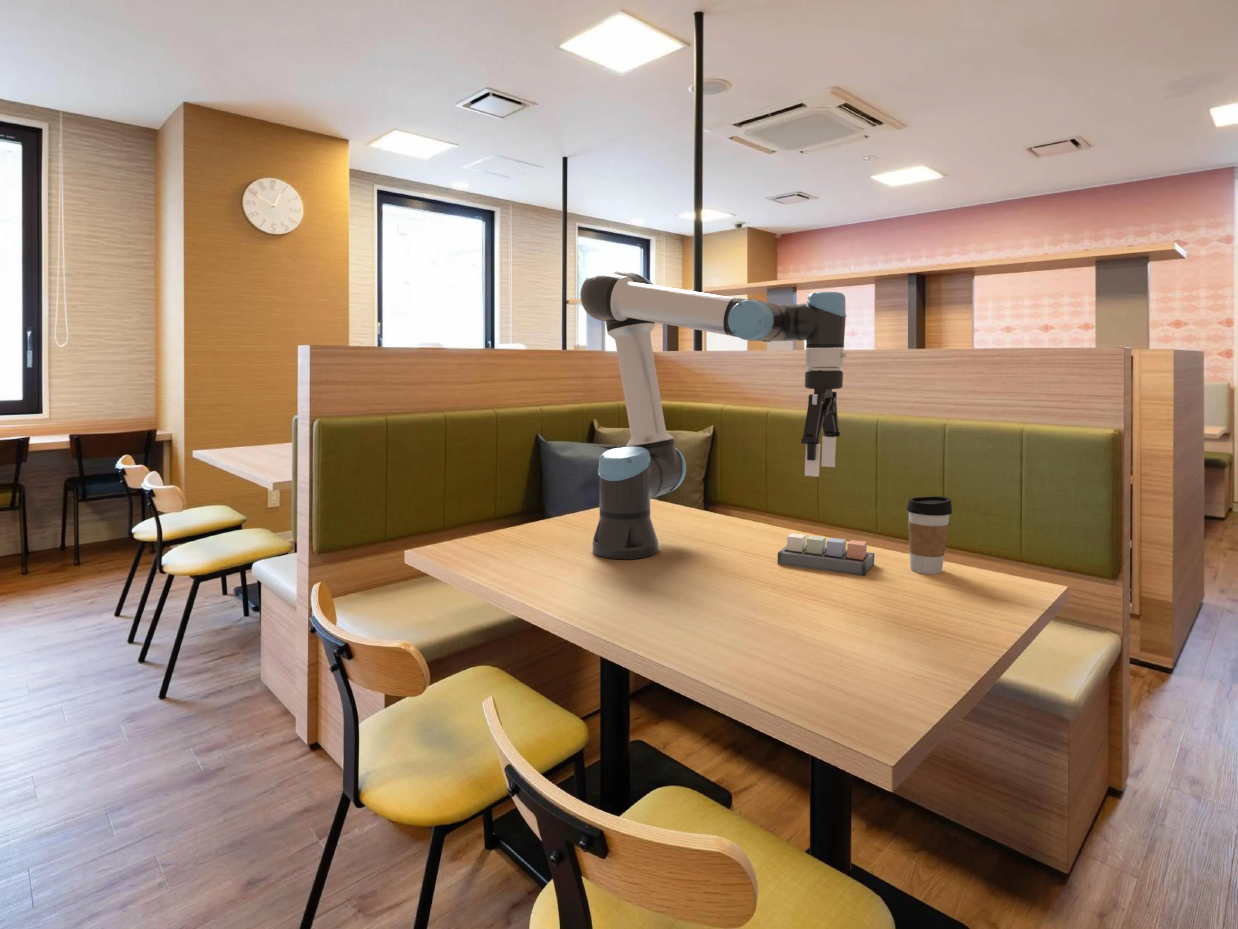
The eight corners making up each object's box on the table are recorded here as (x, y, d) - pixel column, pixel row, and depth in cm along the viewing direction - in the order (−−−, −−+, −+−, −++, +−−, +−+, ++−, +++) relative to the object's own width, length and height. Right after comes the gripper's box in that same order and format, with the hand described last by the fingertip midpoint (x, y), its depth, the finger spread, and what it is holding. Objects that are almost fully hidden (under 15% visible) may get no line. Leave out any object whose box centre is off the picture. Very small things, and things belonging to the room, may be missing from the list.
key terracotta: (846, 557, 143) (847, 543, 143) (850, 553, 146) (850, 540, 145) (863, 559, 142) (863, 545, 141) (866, 555, 144) (866, 541, 144)
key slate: (826, 555, 145) (826, 541, 145) (830, 551, 148) (830, 537, 148) (841, 557, 144) (842, 543, 143) (845, 553, 146) (846, 539, 146)
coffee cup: (953, 577, 137) (958, 503, 135) (908, 575, 139) (911, 501, 137) (942, 565, 146) (946, 494, 143) (900, 563, 147) (903, 493, 145)
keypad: (777, 564, 148) (777, 552, 148) (790, 553, 156) (790, 542, 155) (865, 576, 139) (865, 564, 139) (874, 564, 147) (874, 553, 146)
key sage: (806, 552, 147) (806, 538, 147) (810, 548, 150) (810, 535, 150) (821, 554, 146) (821, 540, 145) (825, 550, 148) (825, 537, 148)
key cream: (786, 550, 150) (787, 536, 149) (791, 546, 152) (791, 533, 152) (801, 551, 148) (802, 538, 147) (805, 548, 151) (806, 534, 150)
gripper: (827, 370, 130) (823, 481, 134) (855, 368, 152) (851, 464, 155) (788, 370, 134) (785, 478, 137) (820, 368, 156) (817, 461, 159)
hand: (820, 471), depth 146 cm, fingers open, 13 cm apart
